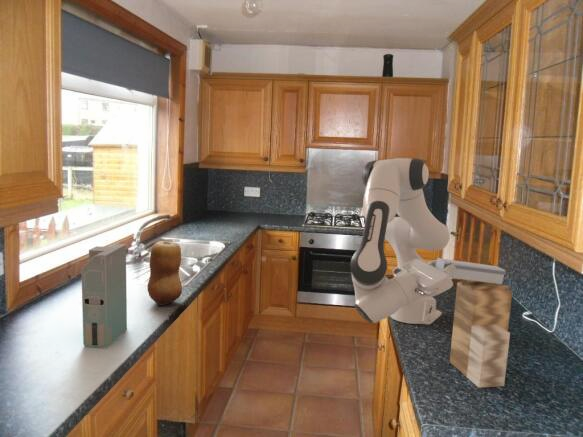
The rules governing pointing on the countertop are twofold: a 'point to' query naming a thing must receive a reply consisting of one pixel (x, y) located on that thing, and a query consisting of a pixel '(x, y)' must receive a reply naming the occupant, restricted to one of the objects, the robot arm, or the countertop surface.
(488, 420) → the countertop surface
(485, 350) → the tall wood grain block
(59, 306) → the countertop surface
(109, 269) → the device
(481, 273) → the foil carton
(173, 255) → the butternut squash
